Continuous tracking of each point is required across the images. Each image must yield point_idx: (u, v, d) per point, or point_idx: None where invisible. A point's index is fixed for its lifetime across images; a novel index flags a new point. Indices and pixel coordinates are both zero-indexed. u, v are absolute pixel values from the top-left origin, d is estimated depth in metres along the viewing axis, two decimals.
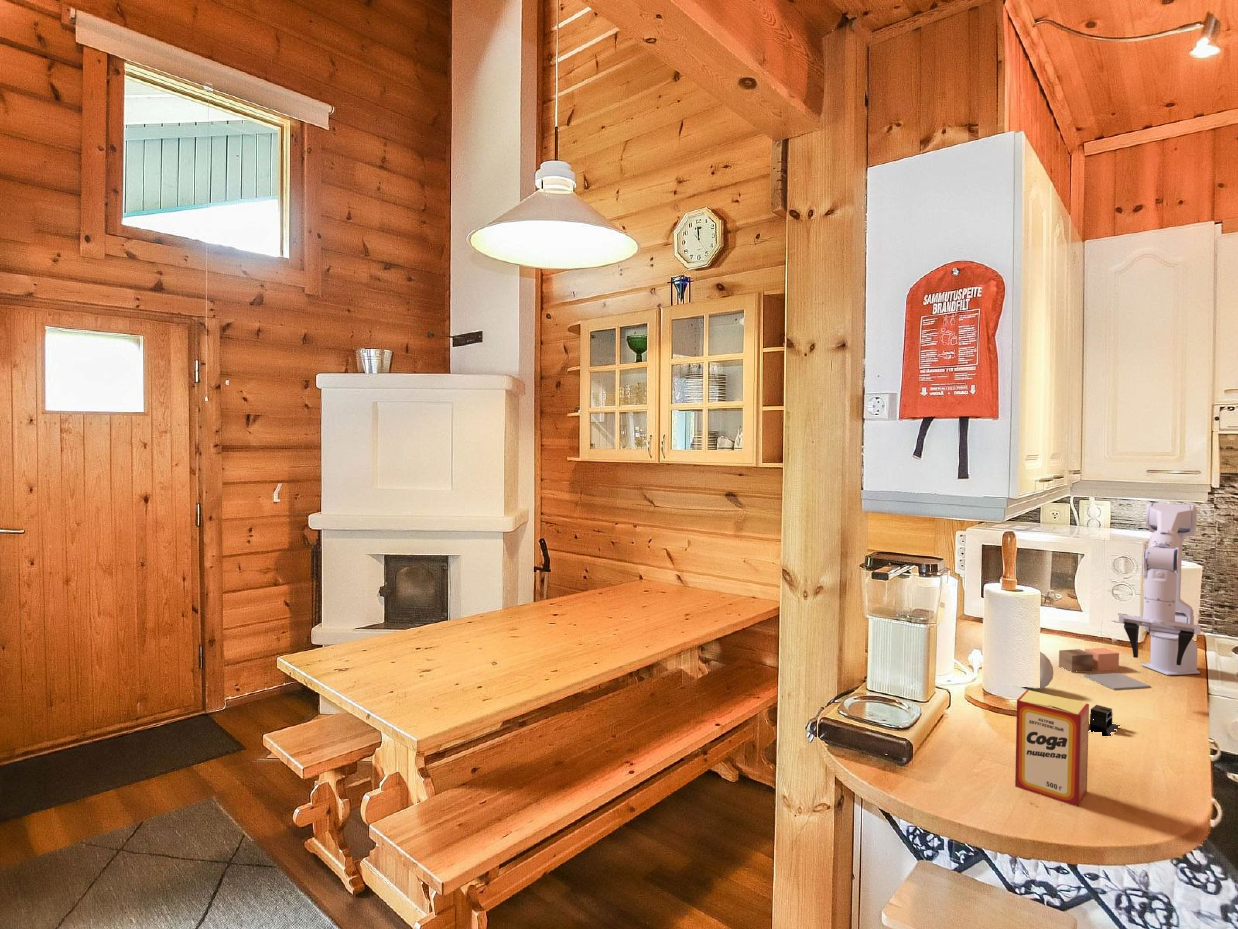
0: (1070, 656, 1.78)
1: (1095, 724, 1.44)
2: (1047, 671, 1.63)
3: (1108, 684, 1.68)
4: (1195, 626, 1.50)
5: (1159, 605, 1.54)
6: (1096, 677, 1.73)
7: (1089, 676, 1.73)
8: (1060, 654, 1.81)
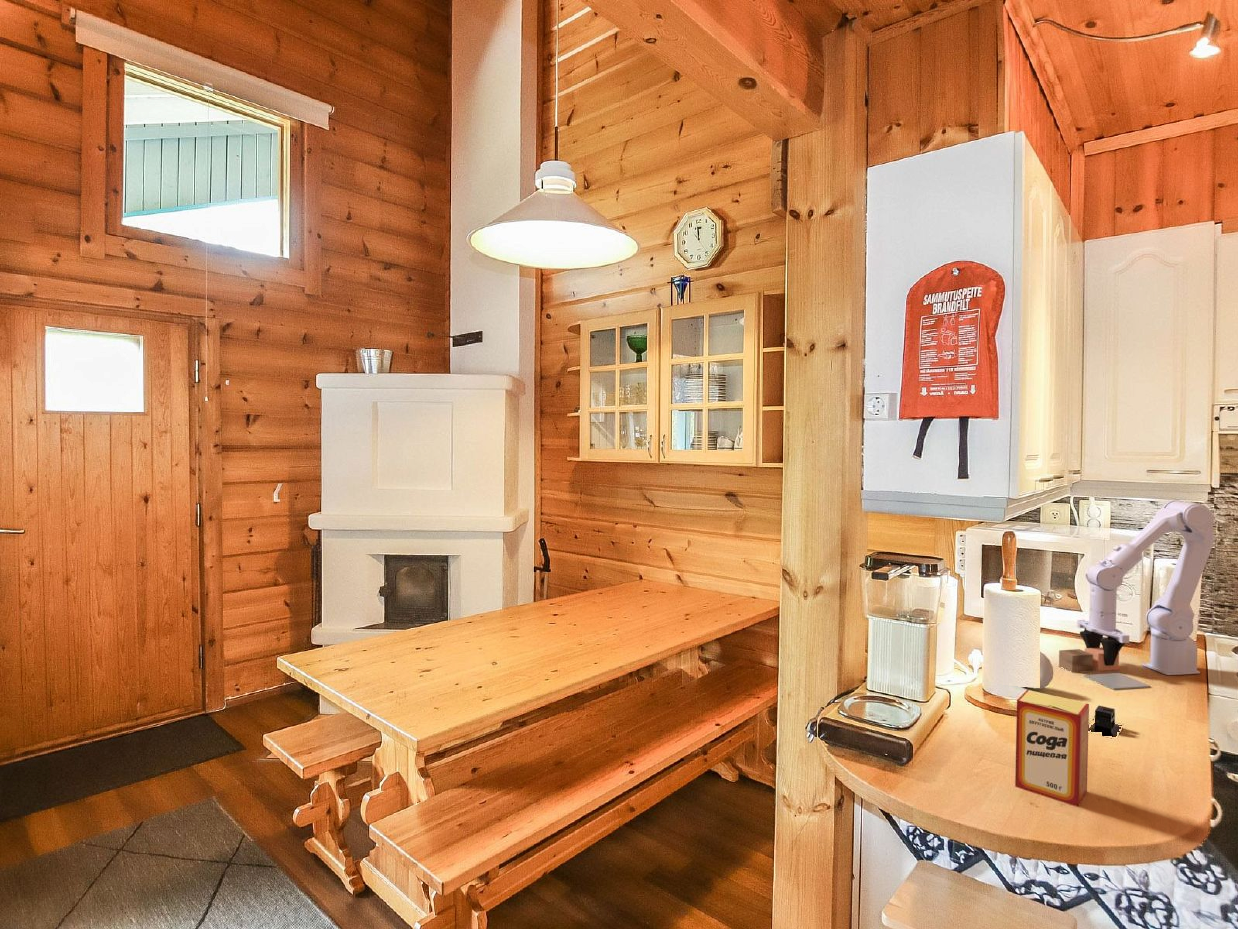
0: (1070, 656, 1.78)
1: (1100, 725, 1.43)
2: (1047, 671, 1.63)
3: (1108, 684, 1.68)
4: (1119, 635, 1.74)
5: (1094, 615, 1.80)
6: (1096, 677, 1.73)
7: (1089, 676, 1.73)
8: (1060, 654, 1.81)
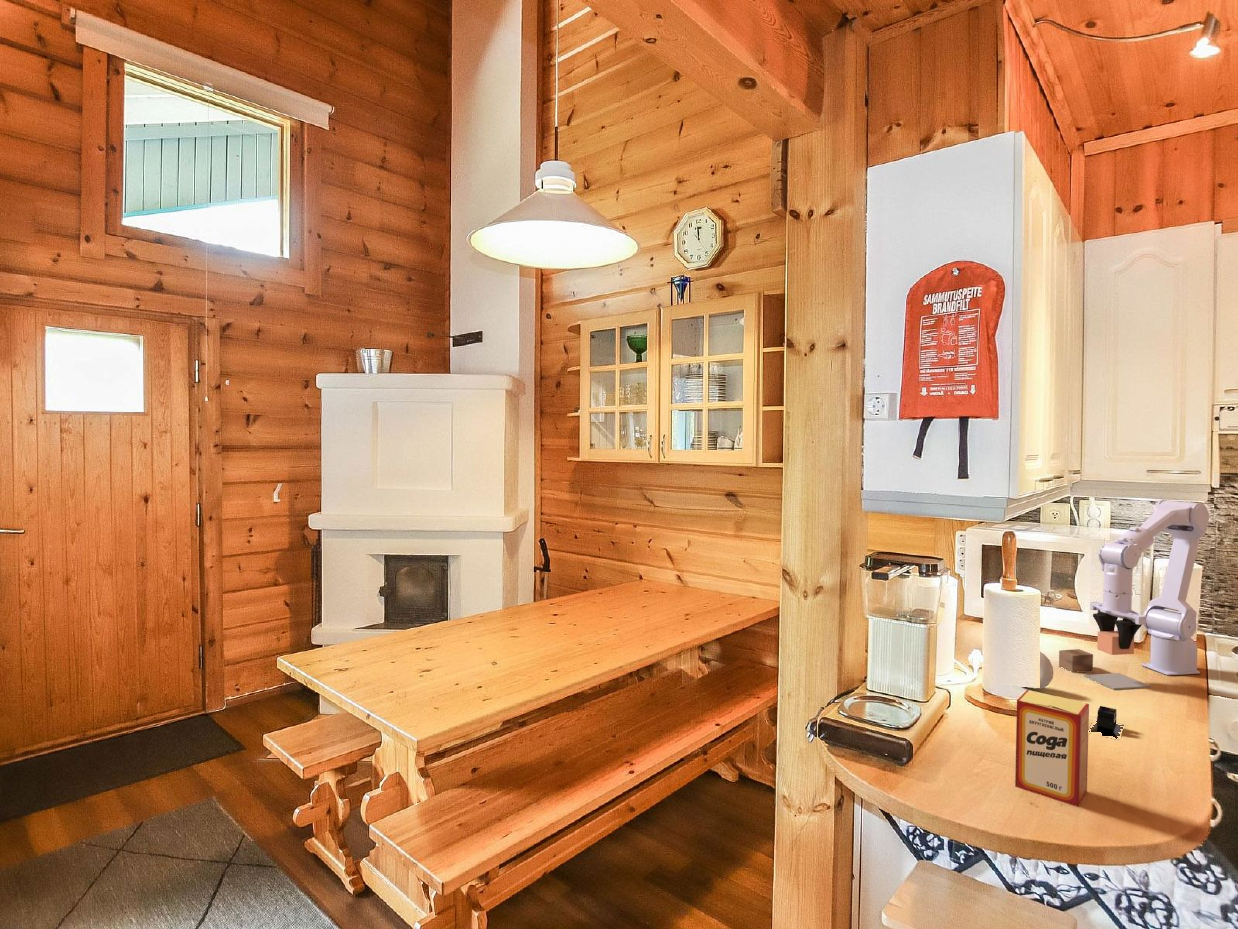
0: (1070, 656, 1.78)
1: (1102, 726, 1.43)
2: (1047, 671, 1.63)
3: (1108, 684, 1.68)
4: (1135, 617, 1.64)
5: (1108, 596, 1.70)
6: (1096, 677, 1.73)
7: (1089, 676, 1.73)
8: (1060, 654, 1.81)
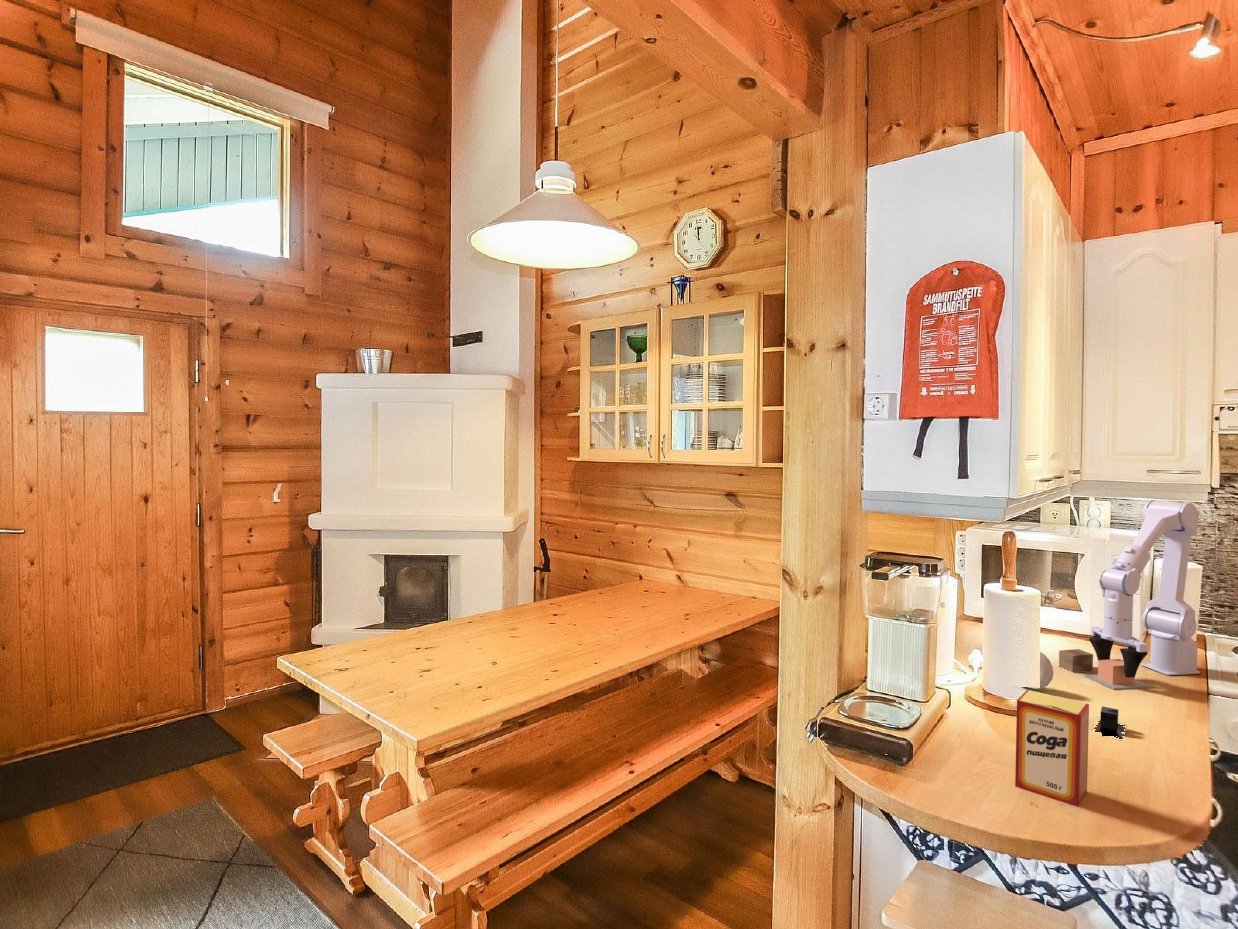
0: (1070, 656, 1.78)
1: (1106, 727, 1.43)
2: (1047, 671, 1.63)
3: (1108, 684, 1.68)
4: (1136, 644, 1.64)
5: (1108, 622, 1.69)
6: (1096, 677, 1.73)
7: (1089, 676, 1.73)
8: (1060, 654, 1.81)
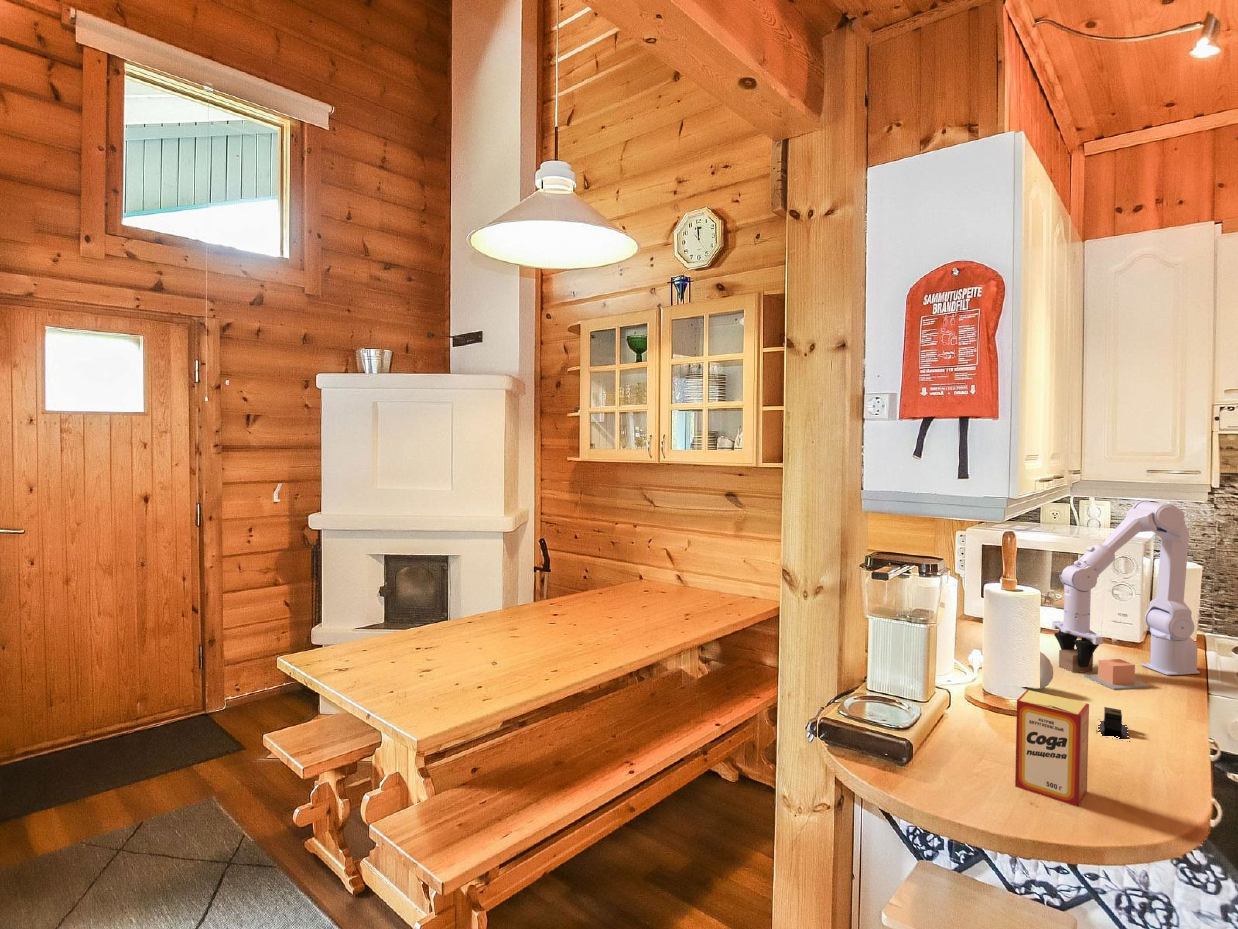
0: (1070, 656, 1.78)
1: (1110, 727, 1.42)
2: (1047, 671, 1.63)
3: (1108, 684, 1.68)
4: (1093, 637, 1.73)
5: (1068, 616, 1.79)
6: (1096, 677, 1.73)
7: (1089, 676, 1.73)
8: (1060, 654, 1.81)
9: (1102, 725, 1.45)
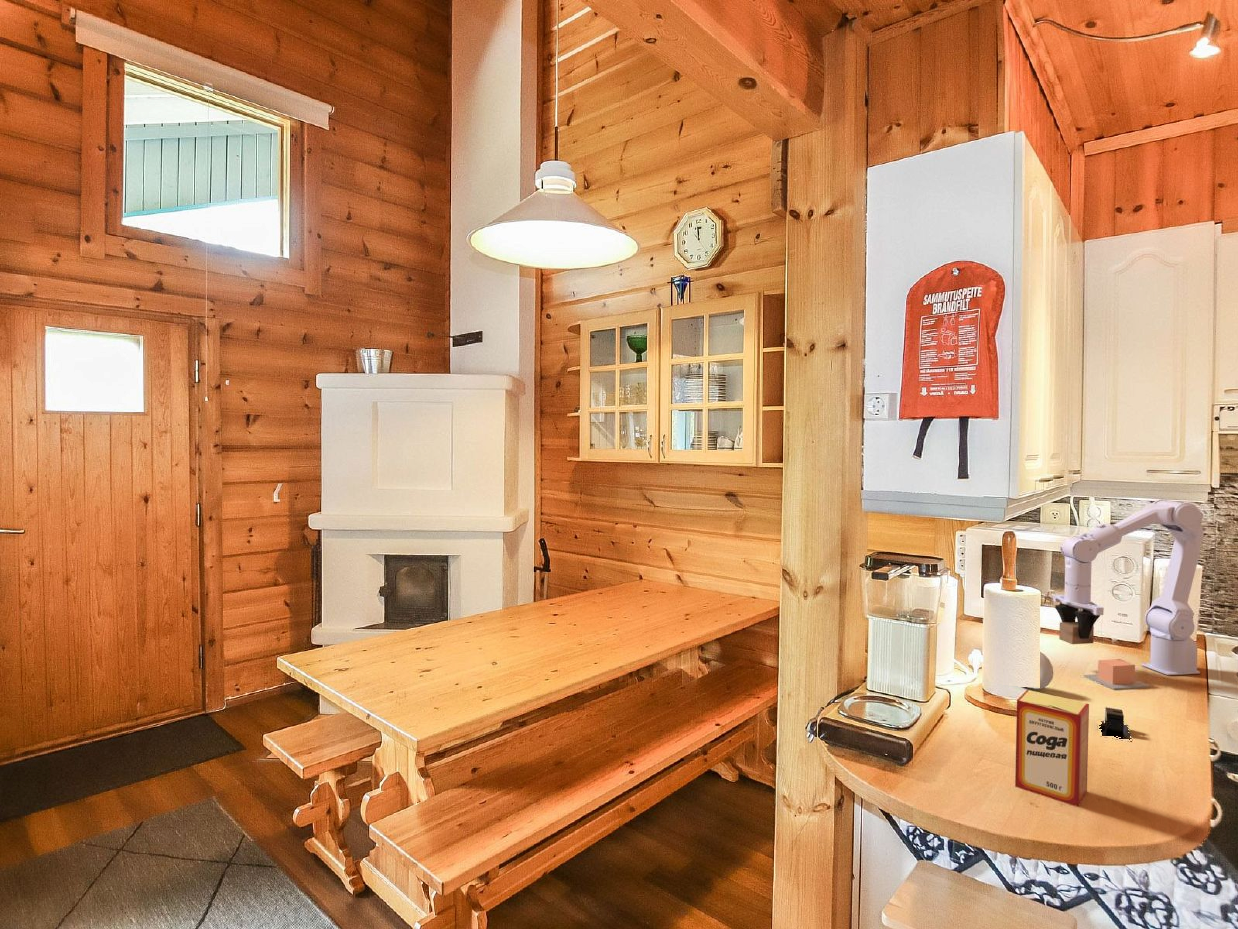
0: (1071, 628, 1.78)
1: (1112, 728, 1.42)
2: (1047, 671, 1.63)
3: (1108, 684, 1.68)
4: (1093, 608, 1.73)
5: (1068, 588, 1.79)
6: (1096, 677, 1.73)
7: (1089, 676, 1.73)
8: (1061, 626, 1.81)
9: (1103, 725, 1.45)
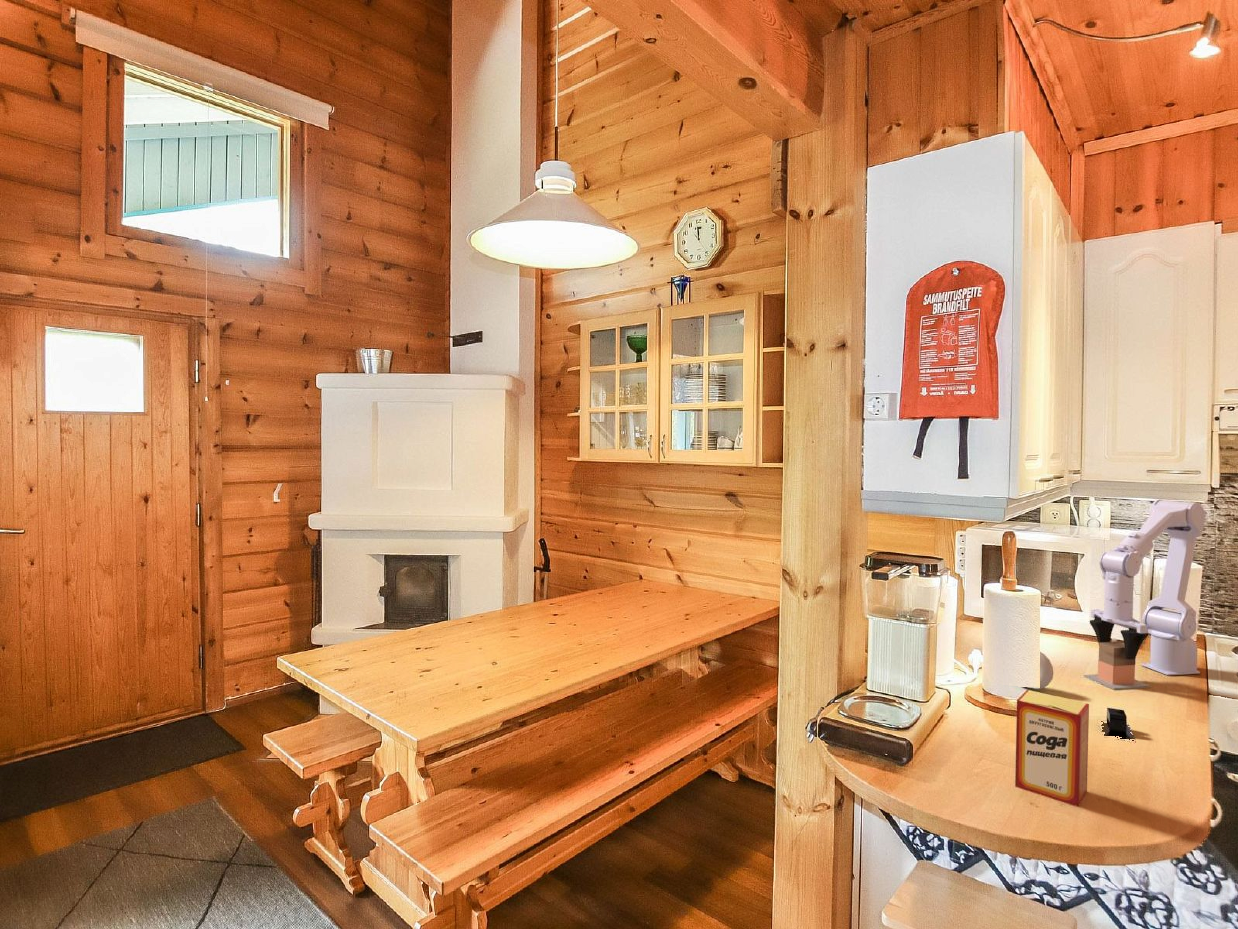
0: (1112, 648, 1.68)
1: (1115, 728, 1.42)
2: (1047, 671, 1.63)
3: (1108, 684, 1.68)
4: (1137, 625, 1.63)
5: (1109, 604, 1.69)
6: (1096, 677, 1.73)
7: (1089, 676, 1.73)
8: (1100, 646, 1.72)
9: (1105, 726, 1.45)
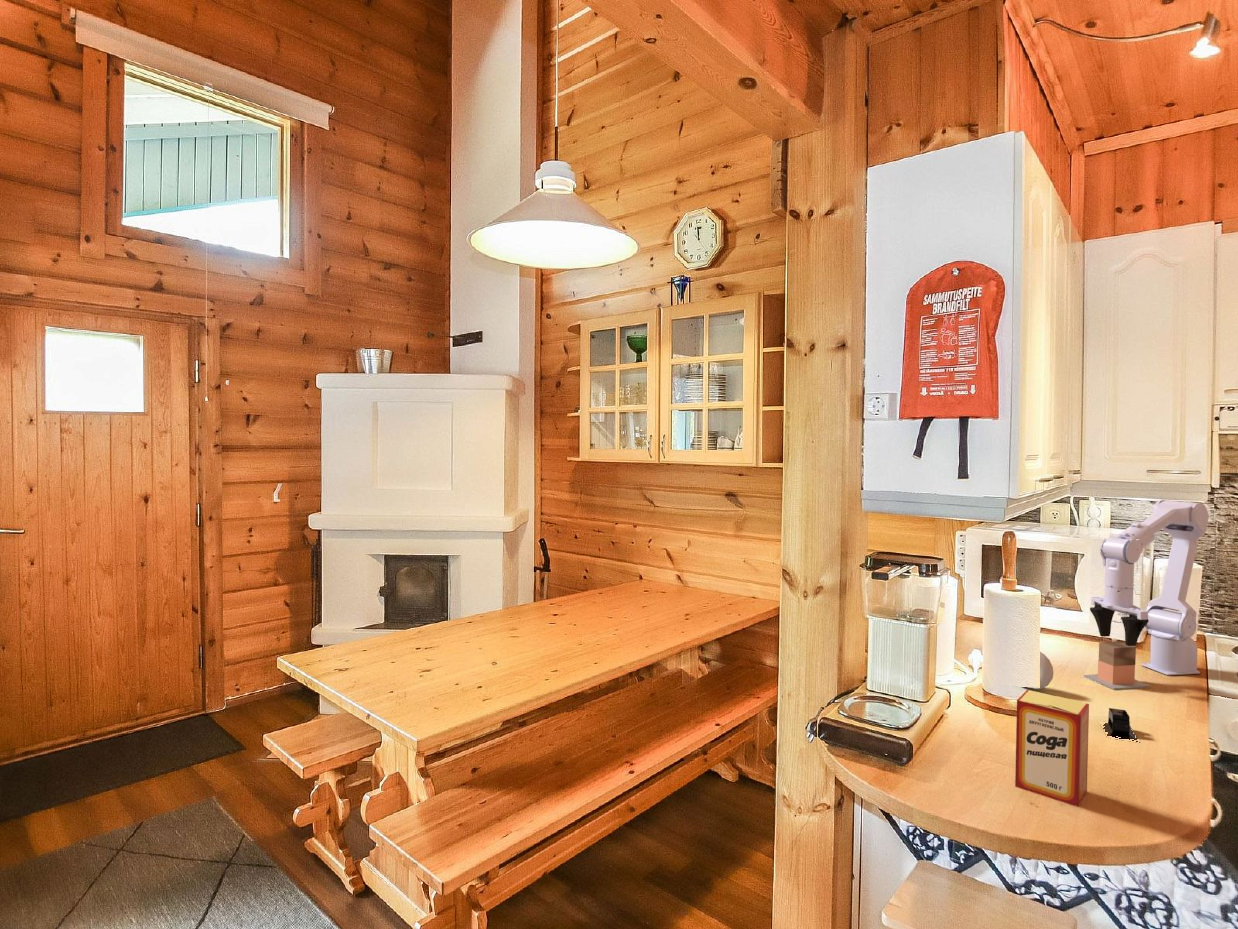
0: (1112, 648, 1.68)
1: (1118, 729, 1.42)
2: (1047, 671, 1.63)
3: (1108, 684, 1.68)
4: (1137, 612, 1.63)
5: (1109, 591, 1.69)
6: (1096, 677, 1.73)
7: (1089, 676, 1.73)
8: (1100, 646, 1.72)
9: (1108, 726, 1.45)
